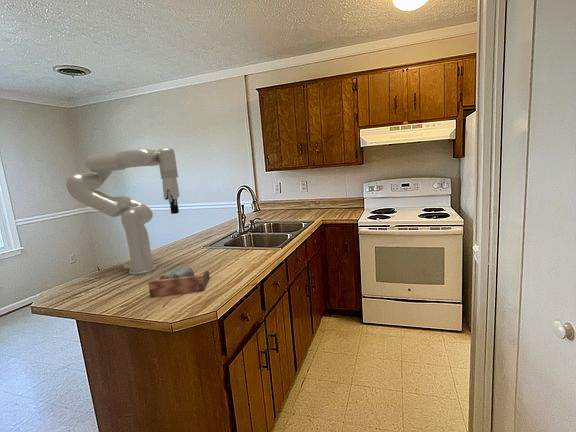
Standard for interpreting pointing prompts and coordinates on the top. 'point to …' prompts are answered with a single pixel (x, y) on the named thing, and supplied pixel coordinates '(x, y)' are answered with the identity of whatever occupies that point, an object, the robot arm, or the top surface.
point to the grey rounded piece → (180, 272)
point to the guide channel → (178, 285)
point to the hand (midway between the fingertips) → (175, 213)
